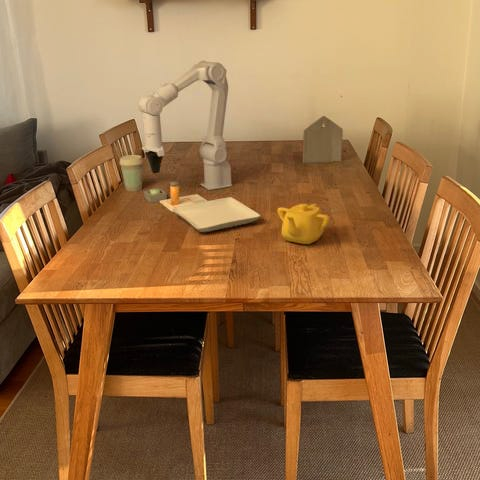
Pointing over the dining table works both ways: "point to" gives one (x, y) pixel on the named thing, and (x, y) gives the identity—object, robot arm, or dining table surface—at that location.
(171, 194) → the marker
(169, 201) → the sheet
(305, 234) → the teapot
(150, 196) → the button housing
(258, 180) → the dining table surface
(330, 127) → the grey pentagonal block
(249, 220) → the salad plate
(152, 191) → the button
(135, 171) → the coffee cup
